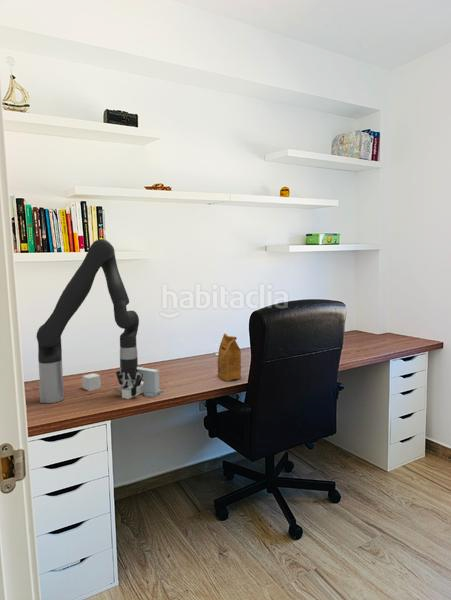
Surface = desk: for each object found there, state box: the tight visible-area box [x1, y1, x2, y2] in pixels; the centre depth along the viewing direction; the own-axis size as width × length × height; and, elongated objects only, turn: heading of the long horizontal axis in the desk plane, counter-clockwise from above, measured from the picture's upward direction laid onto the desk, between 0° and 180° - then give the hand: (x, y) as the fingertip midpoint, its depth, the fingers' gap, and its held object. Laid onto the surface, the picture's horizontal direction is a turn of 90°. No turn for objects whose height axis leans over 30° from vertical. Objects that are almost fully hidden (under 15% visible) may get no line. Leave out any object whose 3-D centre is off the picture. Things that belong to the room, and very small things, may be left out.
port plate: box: [116, 366, 164, 399], centre depth 190 cm, size 8×20×11 cm, turn 62°
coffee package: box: [217, 333, 242, 382], centre depth 210 cm, size 10×12×22 cm
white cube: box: [81, 373, 102, 392], centre depth 197 cm, size 6×6×6 cm
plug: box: [121, 379, 144, 400], centre depth 190 cm, size 19×4×4 cm, turn 152°
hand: (130, 394), depth 185 cm, fingers closed on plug, 3 cm apart
